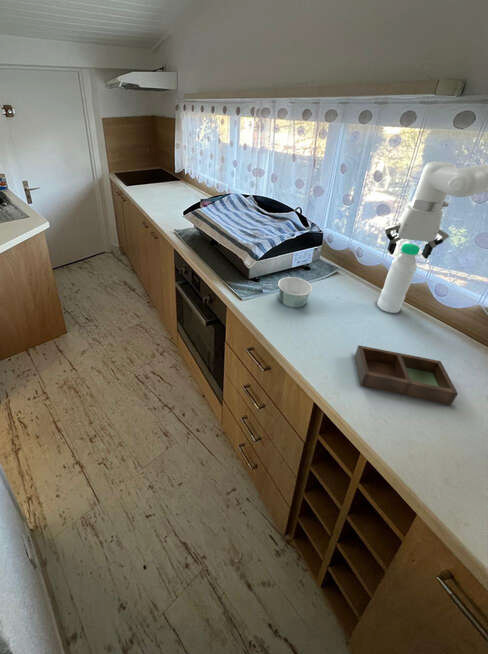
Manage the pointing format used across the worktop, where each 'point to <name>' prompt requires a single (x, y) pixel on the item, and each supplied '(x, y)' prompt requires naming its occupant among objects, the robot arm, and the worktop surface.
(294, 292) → the food container
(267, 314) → the worktop surface
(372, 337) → the worktop surface
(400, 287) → the water bottle
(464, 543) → the worktop surface
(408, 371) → the tray
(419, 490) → the worktop surface
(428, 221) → the robot arm
